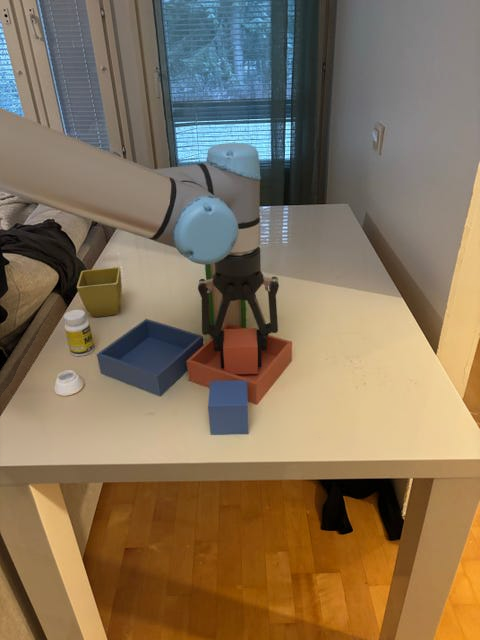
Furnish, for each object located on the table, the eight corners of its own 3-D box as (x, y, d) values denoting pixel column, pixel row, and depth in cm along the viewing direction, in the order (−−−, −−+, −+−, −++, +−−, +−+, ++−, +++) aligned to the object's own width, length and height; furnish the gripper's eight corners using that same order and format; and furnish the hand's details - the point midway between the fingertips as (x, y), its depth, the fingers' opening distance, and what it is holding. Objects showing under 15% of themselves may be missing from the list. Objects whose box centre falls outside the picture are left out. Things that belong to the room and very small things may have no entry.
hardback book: (246, 339, 96) (243, 228, 84) (210, 341, 96) (202, 230, 84) (242, 299, 111) (239, 199, 99) (211, 300, 111) (204, 201, 99)
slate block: (210, 434, 73) (208, 406, 70) (212, 409, 78) (210, 381, 75) (248, 434, 73) (247, 405, 70) (247, 408, 78) (247, 380, 75)
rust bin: (188, 380, 85) (186, 360, 83) (228, 342, 96) (227, 323, 93) (256, 405, 79) (256, 384, 77) (291, 361, 89) (292, 341, 87)
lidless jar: (84, 393, 83) (83, 377, 87) (81, 380, 81) (80, 364, 85) (55, 400, 82) (55, 383, 86) (51, 387, 80) (51, 370, 84)
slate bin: (100, 373, 88) (96, 354, 86) (148, 336, 98) (146, 318, 96) (160, 396, 82) (157, 376, 79) (204, 354, 92) (203, 335, 90)
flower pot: (84, 323, 104) (75, 287, 99) (89, 304, 111) (81, 270, 107) (124, 319, 105) (117, 283, 100) (126, 300, 112) (120, 266, 108)
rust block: (224, 374, 84) (223, 347, 81) (225, 355, 89) (224, 328, 86) (257, 373, 84) (257, 346, 81) (256, 354, 89) (256, 328, 86)
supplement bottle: (91, 356, 93) (82, 320, 88) (67, 357, 93) (57, 321, 88) (97, 343, 97) (89, 308, 92) (75, 343, 97) (66, 308, 93)
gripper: (293, 236, 78) (290, 350, 90) (180, 239, 78) (192, 353, 90) (298, 254, 71) (294, 374, 83) (175, 258, 71) (188, 377, 83)
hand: (241, 363), depth 86 cm, fingers closed on rust block, 6 cm apart
